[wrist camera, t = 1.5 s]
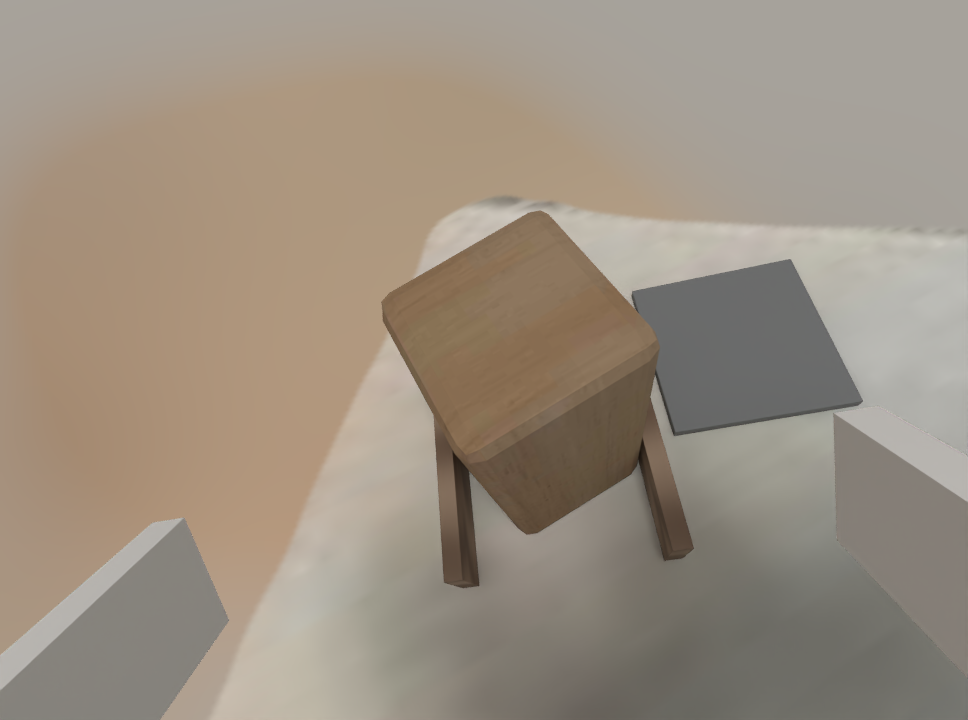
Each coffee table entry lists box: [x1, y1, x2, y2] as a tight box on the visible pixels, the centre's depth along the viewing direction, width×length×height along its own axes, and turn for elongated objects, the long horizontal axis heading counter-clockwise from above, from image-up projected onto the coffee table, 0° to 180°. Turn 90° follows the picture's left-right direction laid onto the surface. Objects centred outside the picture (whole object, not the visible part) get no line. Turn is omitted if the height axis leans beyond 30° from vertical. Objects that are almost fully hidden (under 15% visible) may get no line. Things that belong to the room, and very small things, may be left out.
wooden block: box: [381, 211, 660, 534], centre depth 31 cm, size 10×10×20 cm
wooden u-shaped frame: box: [434, 398, 694, 588], centre depth 38 cm, size 17×15×5 cm
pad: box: [632, 259, 863, 436], centre depth 40 cm, size 13×13×1 cm
